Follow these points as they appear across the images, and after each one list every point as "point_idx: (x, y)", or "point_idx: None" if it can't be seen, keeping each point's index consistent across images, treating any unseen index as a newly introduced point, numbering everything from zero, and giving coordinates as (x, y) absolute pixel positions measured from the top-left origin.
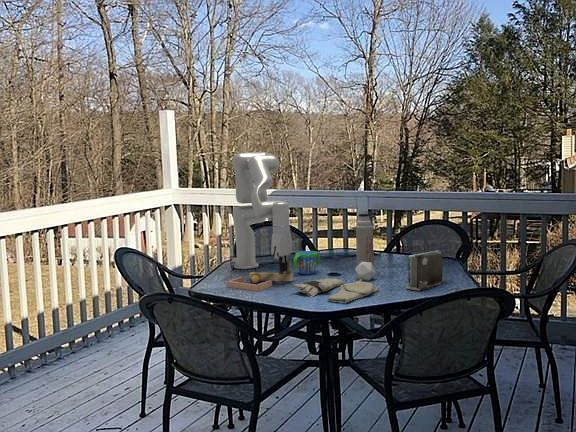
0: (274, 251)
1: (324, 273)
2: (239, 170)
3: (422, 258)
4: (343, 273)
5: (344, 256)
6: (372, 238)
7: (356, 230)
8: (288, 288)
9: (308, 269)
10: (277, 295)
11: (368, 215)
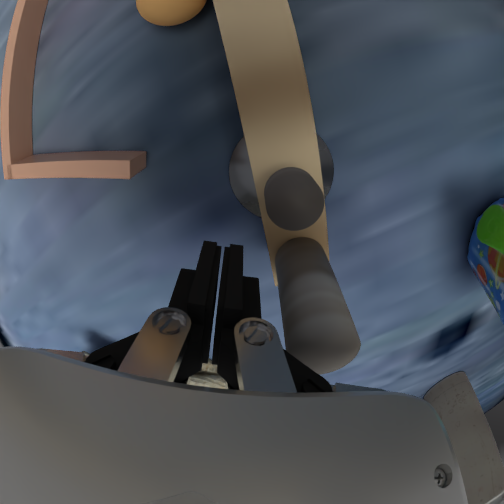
0: (22, 436)
1: (474, 303)
2: None
3: None
4: (456, 352)
5: None
6: None
7: (481, 494)
8: (142, 287)
9: (478, 275)
10: (39, 289)
11: None
